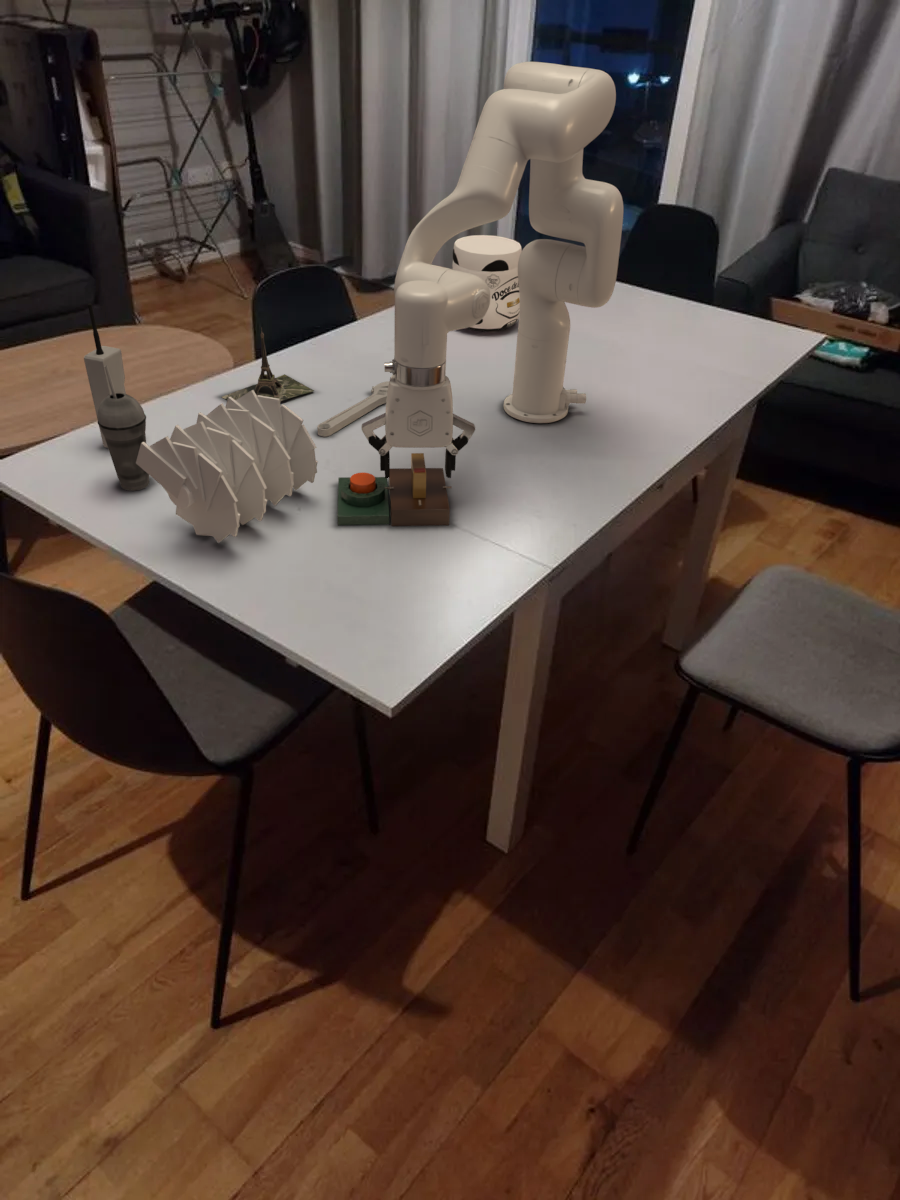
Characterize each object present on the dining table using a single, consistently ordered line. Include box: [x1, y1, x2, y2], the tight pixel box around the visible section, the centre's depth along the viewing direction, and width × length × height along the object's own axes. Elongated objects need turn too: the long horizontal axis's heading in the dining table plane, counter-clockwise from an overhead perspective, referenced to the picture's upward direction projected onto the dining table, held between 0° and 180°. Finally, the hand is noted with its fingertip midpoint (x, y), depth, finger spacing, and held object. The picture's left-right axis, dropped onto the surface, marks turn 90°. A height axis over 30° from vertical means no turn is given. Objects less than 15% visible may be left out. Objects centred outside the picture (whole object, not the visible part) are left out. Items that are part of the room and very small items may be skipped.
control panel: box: [385, 467, 453, 527], centre depth 142 cm, size 13×11×3 cm
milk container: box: [451, 234, 523, 332], centre depth 202 cm, size 17×17×18 cm
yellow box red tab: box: [410, 452, 427, 498], centre depth 139 cm, size 6×2×5 cm, turn 5°
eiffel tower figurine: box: [221, 326, 315, 402], centre depth 169 cm, size 15×10×13 cm
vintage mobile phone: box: [83, 302, 127, 449], centre depth 147 cm, size 4×5×25 cm
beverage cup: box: [97, 365, 150, 492], centre depth 138 cm, size 7×7×20 cm
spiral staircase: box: [136, 390, 319, 544], centre depth 134 cm, size 18×18×25 cm
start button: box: [349, 472, 376, 494], centre depth 140 cm, size 4×4×2 cm
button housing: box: [336, 476, 390, 526], centre depth 141 cm, size 12×8×4 cm, turn 5°
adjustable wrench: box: [316, 380, 390, 438], centre depth 168 cm, size 25×6×2 cm, turn 142°
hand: (417, 474), depth 139 cm, fingers open, 9 cm apart
